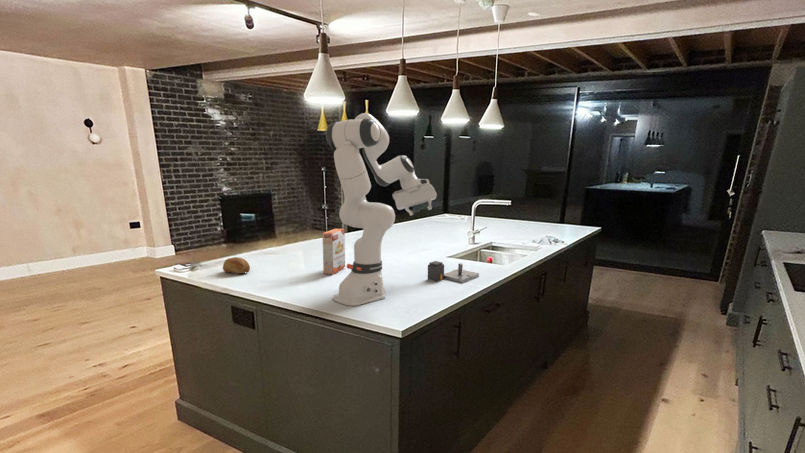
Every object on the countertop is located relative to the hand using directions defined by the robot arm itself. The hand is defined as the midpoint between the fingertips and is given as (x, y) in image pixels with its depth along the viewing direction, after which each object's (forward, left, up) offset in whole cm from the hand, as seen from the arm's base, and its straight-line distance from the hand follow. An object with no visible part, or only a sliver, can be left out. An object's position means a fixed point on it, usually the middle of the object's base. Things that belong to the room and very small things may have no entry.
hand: (421, 212), depth 188 cm
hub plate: (+9, -17, -31) cm, 36 cm away
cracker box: (-24, +37, -31) cm, 54 cm away
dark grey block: (-1, -10, -31) cm, 33 cm away
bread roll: (-59, +72, -31) cm, 98 cm away
